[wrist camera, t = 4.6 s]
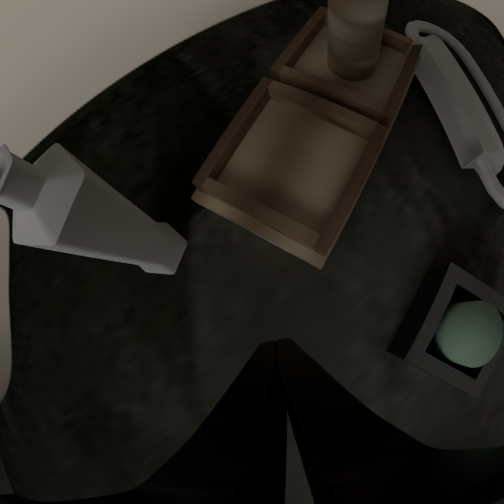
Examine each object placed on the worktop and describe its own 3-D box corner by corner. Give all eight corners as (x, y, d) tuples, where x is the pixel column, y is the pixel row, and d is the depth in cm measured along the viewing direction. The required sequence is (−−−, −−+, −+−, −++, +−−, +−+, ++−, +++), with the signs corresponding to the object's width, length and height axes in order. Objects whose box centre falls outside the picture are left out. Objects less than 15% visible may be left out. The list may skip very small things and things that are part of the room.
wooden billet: (381, 59, 22) (403, -70, 9) (366, 88, 21) (388, -54, 9) (337, 42, 22) (339, -86, 10) (319, 69, 22) (314, -71, 10)
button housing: (488, 309, 18) (518, 307, 14) (452, 385, 18) (478, 398, 14) (427, 270, 19) (451, 261, 16) (386, 350, 19) (404, 359, 15)
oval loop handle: (529, 217, 20) (558, 203, 16) (477, 229, 19) (512, 212, 15) (442, 41, 24) (457, 19, 20) (381, 28, 23) (395, 1, 19)
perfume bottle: (195, 218, 23) (53, 100, 8) (187, 280, 22) (15, 230, 7) (139, 217, 24) (-14, 126, 9) (131, 274, 23) (-44, 228, 8)
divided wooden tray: (419, 62, 22) (425, 44, 20) (321, 270, 21) (323, 265, 18) (319, 23, 24) (319, 4, 22) (195, 202, 23) (183, 190, 20)
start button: (479, 317, 17) (511, 317, 13) (456, 366, 17) (485, 377, 13) (440, 293, 18) (468, 289, 14) (415, 344, 18) (440, 351, 14)
